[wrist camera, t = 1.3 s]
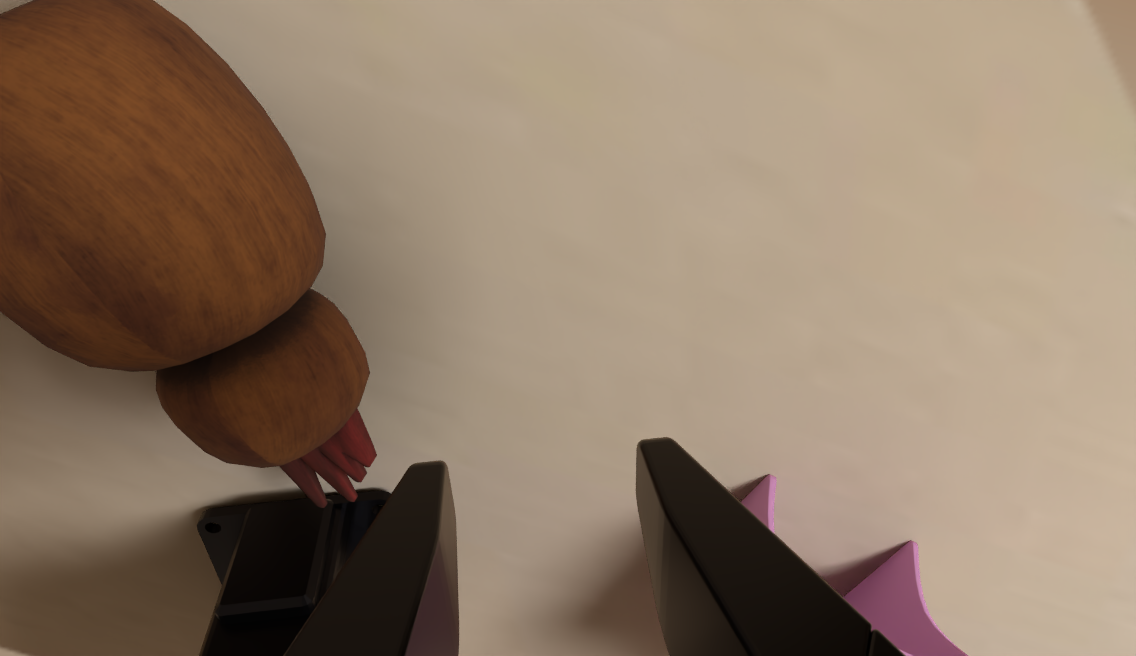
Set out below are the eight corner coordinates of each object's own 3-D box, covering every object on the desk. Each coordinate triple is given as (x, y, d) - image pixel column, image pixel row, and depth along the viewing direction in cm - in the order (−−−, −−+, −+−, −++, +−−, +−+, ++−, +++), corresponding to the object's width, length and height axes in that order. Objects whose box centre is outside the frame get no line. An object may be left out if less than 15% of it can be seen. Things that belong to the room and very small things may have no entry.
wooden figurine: (-55, 35, 17) (294, 466, 26) (-274, 132, 12) (242, 619, 21) (206, -73, 16) (478, 414, 25) (73, -13, 11) (467, 562, 20)
